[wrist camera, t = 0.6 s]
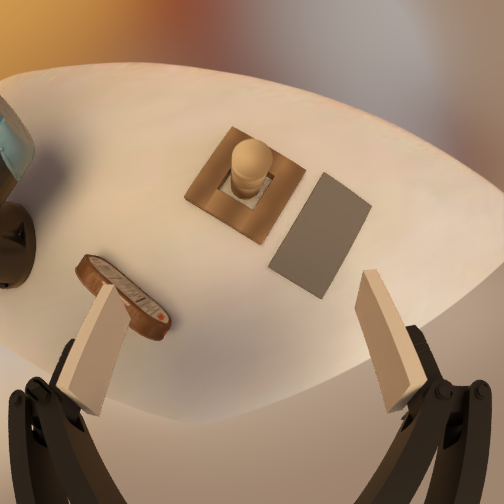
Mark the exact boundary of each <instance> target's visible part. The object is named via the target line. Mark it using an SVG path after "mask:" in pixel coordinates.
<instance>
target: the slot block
mask: <svg viewBox="0 0 504 504" xmlns="http://www.w3.org/2000/svg"><path fill="white" fill-rule="evenodd" d="M247 139H254V138H253V137H251V136H249V135H247V134H245V133H244V132H242V131H240V130H238V129H236V128H235V127H233V126H232V127H231V129H230V130H229V132H228V133H227V134H226V136H225V137H224V138H223V140H222V141H221V143H220V144H219V145H218V147H217V148H216V150H215V151H214V152H213V154H212V155H211V157H210V158H209V160H208V161H207V162H206V164H205V165H204V167H203V168H202V170H201V171H200V173H199V174H198V176H197V177H196V179H195V180H194V182H193V183H192V185H191V186H190V188H189V189H188V191H187V193H186V194H185V196H184V198H185V199H186V200H187V201H189V202H191V203H192V204H194V205H196V206H197V207H199V208H201V209H202V210H204V211H206V212H207V213H209V214H211V215H212V216H214V217H215V218H217V219H219V220H220V221H222V222H224V223H225V224H227V225H229V226H230V227H232V228H233V229H235V230H237V231H238V232H240V233H242V234H243V235H245V236H247V237H248V238H250V239H251V240H253V241H255V242H256V243H258V244H260V245H261V244H262V243H263V241H264V240H265V238H266V236H267V235H268V233H269V231H270V230H271V228H272V226H273V225H274V223H275V221H276V220H277V218H278V217H279V215H280V213H281V212H282V210H283V208H284V207H285V205H286V203H287V202H288V200H289V198H290V197H291V195H292V193H293V192H294V190H295V188H296V187H297V185H298V183H299V182H300V180H301V178H302V177H303V175H304V173H305V172H306V170H305V169H304V168H302V167H301V166H299V165H297V164H296V163H294V162H293V161H291V160H289V159H288V158H286V157H285V156H283V155H281V154H280V153H278V152H276V151H275V150H273V149H271V148H270V147H269V148H270V150H271V152H272V156H273V161H272V164H271V167H270V169H269V171H268V173H267V175H266V176H268V177H269V178H271V179H272V182H271V183H270V185H269V187H268V188H267V190H266V191H265V193H264V194H263V196H262V198H261V199H260V201H259V202H258V204H257V206H256V207H255V209H254V210H252V209H250V208H248V207H247V206H245V205H243V204H242V203H240V202H239V201H237V200H235V199H234V198H232V197H230V196H229V195H227V194H225V193H224V192H222V191H220V190H219V189H220V187H221V186H222V184H223V183H224V181H225V180H226V178H227V177H228V175H229V174H230V172H231V169H232V153H233V150H234V148H235V147H236V146H237V145H238V144H239V143H240V142H242V141H244V140H247Z"/></svg>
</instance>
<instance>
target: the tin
mask: <svg viewBox="0 0 504 504" xmlns="http://www.w3.org/2000/svg"><path fill="white" fill-rule="evenodd" d="M75 272H76V275H77V277H78V278H79V280H80V281H81V282H82V284H83V285H84V286H85V287H86V288H87V289H88V290H89V291H90V292H91V293H92V294H93V295H95V296H96V297H97V295H98V293H99V291H100V290H101V288H102V286H103V285H112V284H114V285H115V287H116V289H117V291H118V294H119V296H120V298H121V300H122V302H123V304H124V306H125V308H126V310H127V312H128V314H129V316H130V318H131V320H130V323H129V327H130V328H131V329H133V330H134V331H136V332H137V333H139V334H140V335H142V336H144V337H146V338H149V339H151V340H155V341H160V340H162V339H163V338H164V335H165V334H166V333H167V331H168V330H169V329H170V327H171V318H170V317H169V315H168V314H167V313H166V311H165V310H164V309H163V308H162V307H161V306H160V305H159V304H157V303H156V302H155V301H154V300H153V299H151V298H150V297H149V296H148V295H147V294H146V293H144V292H143V291H142V290H141V289H140V288H139V287H137V286H136V285H135V284H134V283H133V282H132V281H130V280H129V279H128V278H127V277H126V276H125V275H124V274H122V273H121V272H120V271H119V270H118V269H117V268H115V267H114V266H113V265H111V264H110V263H109V262H107V261H106V260H104V259H102V258H100V257H98V256H94V255H89V254H86V255H85V256H84V257H83V259H82V260H81V262H80V263H79V265H78V266H77V267H76V269H75Z"/></svg>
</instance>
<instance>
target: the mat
mask: <svg viewBox="0 0 504 504" xmlns="http://www.w3.org/2000/svg"><path fill="white" fill-rule="evenodd" d="M371 207H372V206H371V205H370V204H369V203H367V202H366V201H365V200H363V199H362V198H361V197H359V196H358V195H356V194H355V193H354V192H352V191H351V190H350V189H348V188H347V187H345V186H344V185H343V184H341V183H340V182H338V181H337V180H335V179H334V178H333V177H331V176H330V175H328V174H327V173H325V172H324V173H323V174H322V176H321V178H320V179H319V181H318V183H317V185H316V186H315V188H314V190H313V192H312V193H311V195H310V197H309V198H308V200H307V202H306V204H305V205H304V207H303V209H302V210H301V212H300V214H299V216H298V217H297V219H296V221H295V222H294V224H293V226H292V227H291V229H290V231H289V232H288V234H287V236H286V237H285V239H284V241H283V242H282V244H281V246H280V248H279V249H278V251H277V253H276V254H275V256H274V257H273V259H272V261H271V262H270V264H269V266H268V267H269V268H271V269H272V270H274V271H276V272H277V273H279V274H281V275H282V276H284V277H286V278H287V279H289V280H291V281H292V282H294V283H295V284H297V285H299V286H300V287H302V288H304V289H305V290H307V291H309V292H310V293H312V294H314V295H315V296H317V297H319V298H320V299H322V298H323V296H324V294H325V293H326V291H327V289H328V288H329V286H330V284H331V282H332V281H333V279H334V277H335V275H336V274H337V272H338V270H339V268H340V267H341V265H342V263H343V261H344V259H345V257H346V256H347V254H348V252H349V250H350V248H351V246H352V244H353V243H354V241H355V239H356V237H357V235H358V233H359V231H360V229H361V227H362V225H363V223H364V221H365V219H366V217H367V215H368V213H369V211H370V209H371Z"/></svg>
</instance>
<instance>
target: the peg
mask: <svg viewBox="0 0 504 504" xmlns="http://www.w3.org/2000/svg"><path fill="white" fill-rule="evenodd" d="M272 161H273V156H272V152H271V150H270V148H269V147H268V146H267V145H266V144H265V143H263V142H262V141H259V140H256V139H247V140H244V141H242V142H240V143H239V144H238V145H237V146H236V147H235V148H234V150H233V153H232V169H231V189H232V191H233V193H234V194H235V195H236V196H237V197H238V198H240V199H251V198H253V197H254V196H256V195H257V193H258V192H259V190H260V187H261V185H262V183H263V181H264V179H265V177H266V175H267V173H268V171H269V169H270V167H271V164H272Z"/></svg>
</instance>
